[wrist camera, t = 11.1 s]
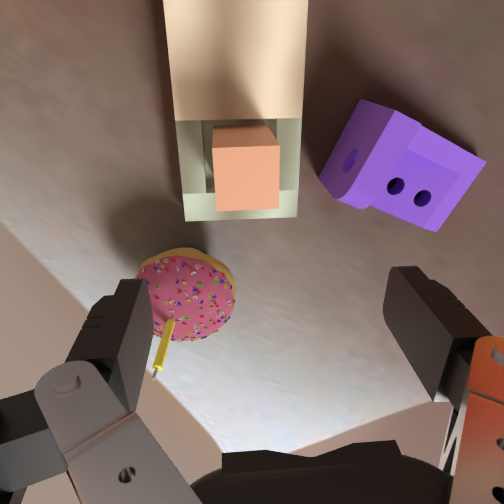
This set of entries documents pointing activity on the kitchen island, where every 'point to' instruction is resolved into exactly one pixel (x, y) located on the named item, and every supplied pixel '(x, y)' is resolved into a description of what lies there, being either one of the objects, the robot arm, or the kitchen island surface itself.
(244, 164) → the salmon orange rectangular block
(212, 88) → the rail
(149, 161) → the kitchen island surface
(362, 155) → the bracket
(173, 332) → the cupcake
